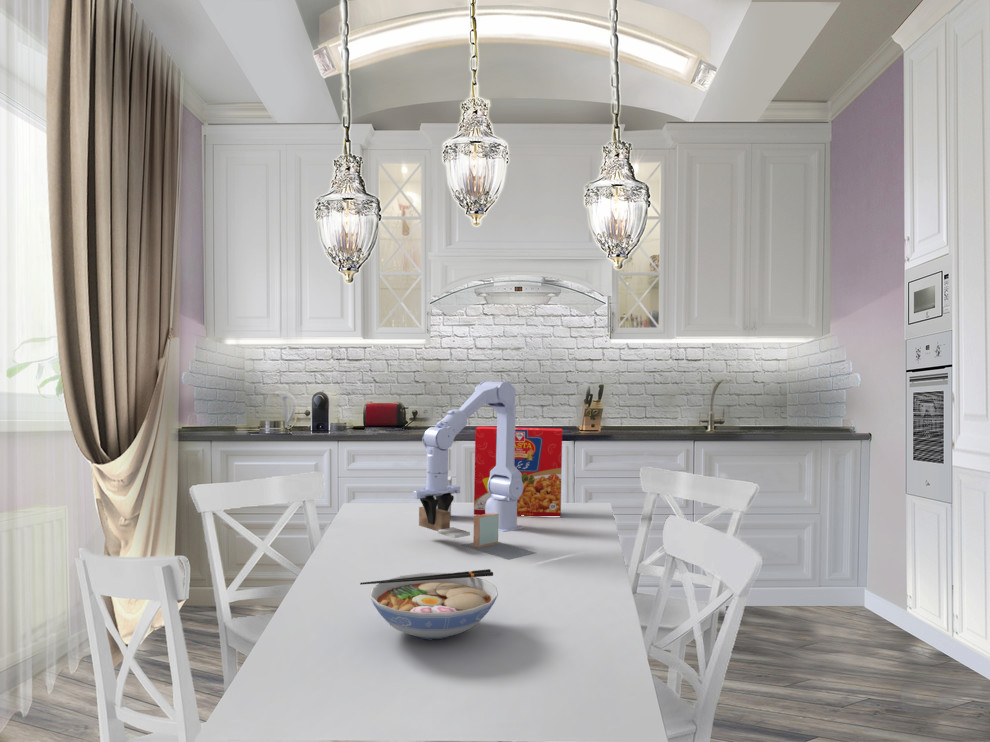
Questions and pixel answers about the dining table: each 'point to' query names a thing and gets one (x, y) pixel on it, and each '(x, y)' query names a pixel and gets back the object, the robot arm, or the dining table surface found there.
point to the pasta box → (523, 469)
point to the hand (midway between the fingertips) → (436, 522)
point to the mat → (502, 550)
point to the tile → (485, 529)
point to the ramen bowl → (434, 602)
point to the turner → (441, 523)
